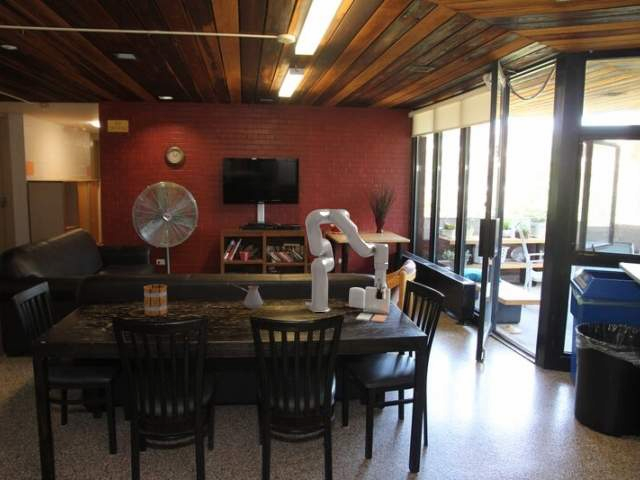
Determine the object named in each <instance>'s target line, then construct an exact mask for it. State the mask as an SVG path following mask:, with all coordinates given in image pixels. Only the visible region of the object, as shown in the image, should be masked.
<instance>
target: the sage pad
mask: <svg viewBox="0 0 640 480" xmlns="http://www.w3.org/2000/svg"><path fill="white" fill-rule="evenodd" d="M373 315H374V314H371V313H362V312H360V313H359V314H358V315H357V317H356V318H355V320H357V321H365V322H369V320H371V319H372V318H373V317H374V316H373Z"/></svg>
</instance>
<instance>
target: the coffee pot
mask: <svg viewBox="0 0 640 480" xmlns="http://www.w3.org/2000/svg"><path fill="white" fill-rule="evenodd" d="M229 285H230V286H234V287H235V288H237V289H240V290H242V291H245V292H246V293H247V294H246V296H245V298H244V301H243V305H244V307H245V308H246V309H249V310H257V309H260V307H262V305H263V303H264V301H263V300H262V297H261V295H260V292H259V285H248V286H247V289H245V288H243V287H241V286H240V285H237V284H234V283H233V282H230V281H229V282H228V283H227V286H229Z"/></svg>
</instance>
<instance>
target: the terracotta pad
mask: <svg viewBox="0 0 640 480" xmlns="http://www.w3.org/2000/svg"><path fill="white" fill-rule="evenodd" d="M373 315H374V316H372V317H371V318H370V322H372V323H384V322H385V321H386V319H387V318H388V315H380V314H373Z"/></svg>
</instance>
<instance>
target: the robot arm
mask: <svg viewBox="0 0 640 480" xmlns="http://www.w3.org/2000/svg"><path fill="white" fill-rule="evenodd" d="M350 217H351V215H350V212H349V211H347V210H346V209H344V208H343V209H342V208H341V209H340V208H338V209H335V208H333V209H331V208H324V209H321V208H320V209H315V210H312V211H311V212H310V213H308V215H307V217H306V218H305V222H304V223H305V224H304V225H305V229H306V234H307V240H308V244H309V245H308V246H309V251H310V253H311V255H313V256H315V257H317V258H315V259H314V260H313V261H312V262H311V265H310V272H311V301H310V302H307V301H305V302H304V306H306V307H308V311H309V310H311V311H314V312H313V313H315V312H325V313H329V312H330V311H331V308H330V307H328V306H329V305H328V300H329V277H328V272H331V271H332V270H333V269H334V267H335V259H334V253H333V248H332V244H331V242H330V241H329V240H328V239H326V238H323V233H322V229H321V227H320V225H324V224H333V225H335V227H336V228H337V229H338V230H339V231H340V232H341V233H342V234H343V235H344V236H345V238H346V240H347V242H348V243H349V245H350V247H351V248H352V249H353V250H354V252H356V253H357V254H358V255H359V256H360V257H362V258H368V257H371V256H374V267H373V268H374V269H375V271H374V285H373V287H377V293H376V299H382V289H384V288H385V285H386V282H387V270H388V269H389V244H386V243H376V242H372V241H371V242H370V241H369V242H365V241H364V239H362V238H361V237H360V235H359V233H358V227H357V225H356V224H355V223H354V222H353V220H351V219H350ZM311 311H310V312H311Z"/></svg>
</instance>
